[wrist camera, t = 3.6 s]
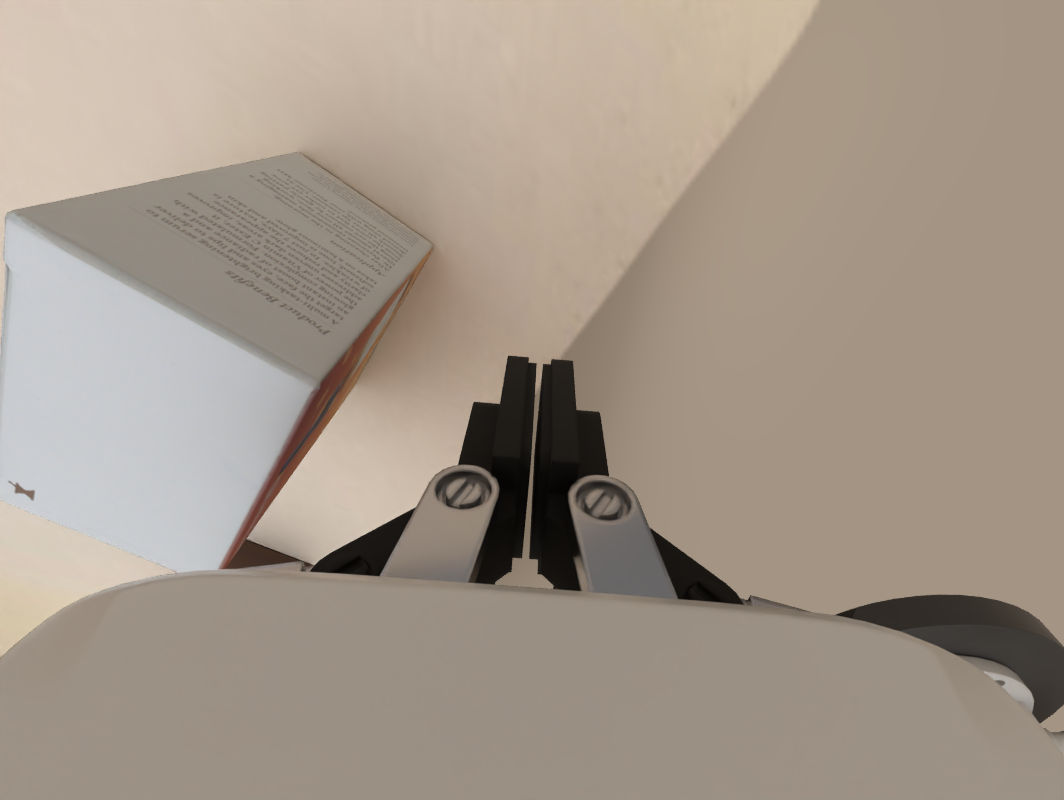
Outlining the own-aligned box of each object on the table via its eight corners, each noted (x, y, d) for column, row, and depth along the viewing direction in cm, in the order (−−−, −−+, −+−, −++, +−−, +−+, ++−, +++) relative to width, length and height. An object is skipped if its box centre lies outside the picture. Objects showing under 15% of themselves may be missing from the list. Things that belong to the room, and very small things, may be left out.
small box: (353, 388, 22) (211, 594, 13) (230, 320, 20) (-28, 500, 11) (440, 242, 18) (324, 391, 9) (298, 144, 16) (-11, 207, 7)
